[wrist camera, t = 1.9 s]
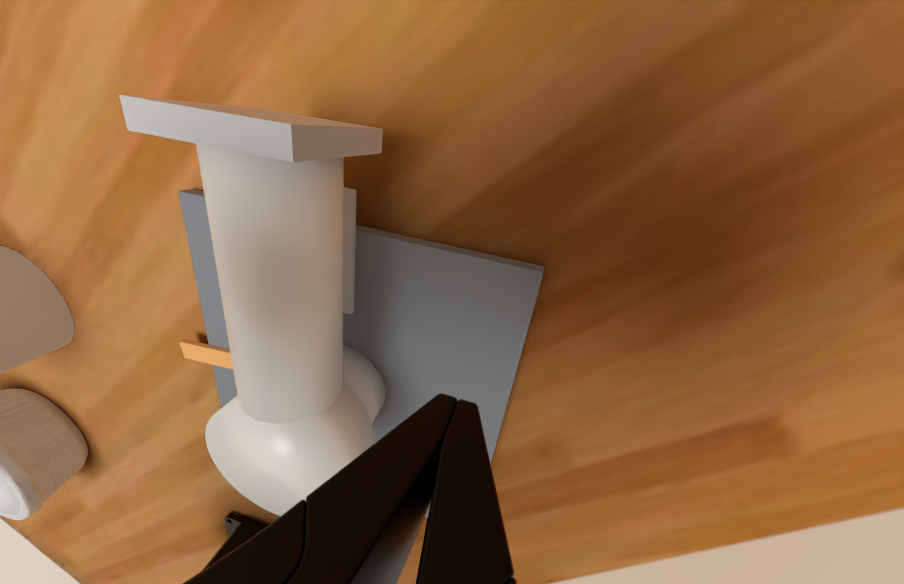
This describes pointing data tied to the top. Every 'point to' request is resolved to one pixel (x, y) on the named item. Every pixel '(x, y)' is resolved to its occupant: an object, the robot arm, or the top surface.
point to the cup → (29, 312)
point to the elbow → (275, 288)
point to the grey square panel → (399, 320)
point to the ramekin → (35, 451)
